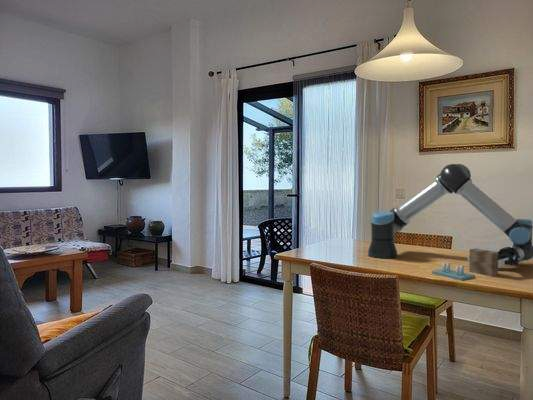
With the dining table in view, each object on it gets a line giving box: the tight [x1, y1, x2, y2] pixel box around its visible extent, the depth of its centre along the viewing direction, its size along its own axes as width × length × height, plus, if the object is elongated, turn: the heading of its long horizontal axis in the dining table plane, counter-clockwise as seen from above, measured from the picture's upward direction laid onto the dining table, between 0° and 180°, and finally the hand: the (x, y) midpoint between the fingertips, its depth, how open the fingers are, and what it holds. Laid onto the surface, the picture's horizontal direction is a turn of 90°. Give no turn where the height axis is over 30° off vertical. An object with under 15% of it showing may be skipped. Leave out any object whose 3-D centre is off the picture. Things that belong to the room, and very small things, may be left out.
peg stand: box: [431, 262, 476, 281], centre depth 171 cm, size 14×9×4 cm, turn 30°
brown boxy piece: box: [468, 248, 499, 277], centre depth 173 cm, size 10×4×10 cm, turn 30°
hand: (483, 260), depth 172 cm, fingers open, 13 cm apart
